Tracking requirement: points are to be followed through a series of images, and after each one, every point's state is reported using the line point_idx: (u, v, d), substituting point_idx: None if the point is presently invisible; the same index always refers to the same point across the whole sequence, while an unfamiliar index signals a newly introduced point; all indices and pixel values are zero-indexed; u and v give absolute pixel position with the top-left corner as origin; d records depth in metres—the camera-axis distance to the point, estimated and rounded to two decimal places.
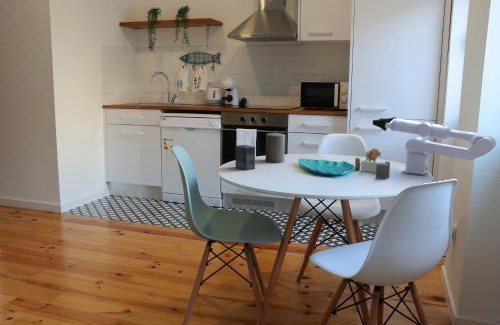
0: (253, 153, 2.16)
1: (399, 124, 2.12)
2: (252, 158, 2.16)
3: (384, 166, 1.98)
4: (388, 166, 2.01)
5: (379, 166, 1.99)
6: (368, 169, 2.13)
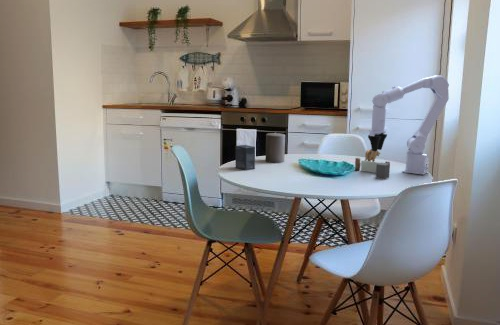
0: (253, 153, 2.16)
1: (374, 124, 2.11)
2: (252, 158, 2.16)
3: (384, 166, 1.98)
4: (388, 166, 2.01)
5: (379, 166, 1.99)
6: (368, 169, 2.13)
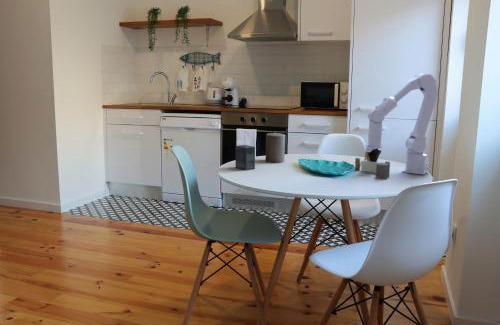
0: (253, 153, 2.16)
1: (370, 139, 2.09)
2: (252, 158, 2.16)
3: (384, 166, 1.98)
4: (388, 166, 2.01)
5: (379, 166, 1.99)
6: (368, 169, 2.13)
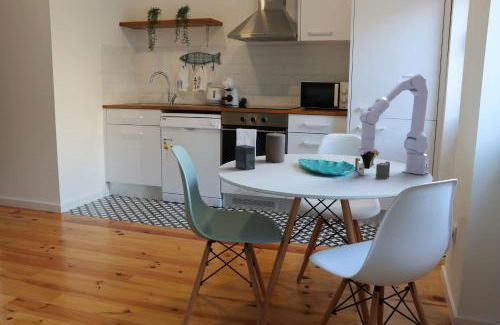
0: (253, 153, 2.16)
1: (363, 141, 2.03)
2: (252, 158, 2.16)
3: (384, 166, 1.98)
4: (388, 166, 2.01)
5: (379, 166, 1.99)
6: (358, 170, 2.11)
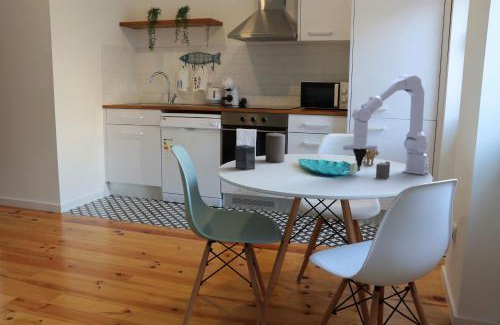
0: (253, 153, 2.16)
1: None
2: (252, 158, 2.16)
3: (384, 166, 1.98)
4: (388, 166, 2.01)
5: (379, 166, 1.99)
6: None
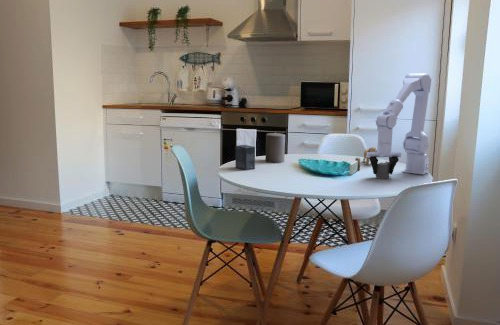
0: (253, 153, 2.16)
1: None
2: (252, 158, 2.16)
3: (384, 166, 1.98)
4: (388, 166, 2.01)
5: (379, 166, 1.99)
6: None
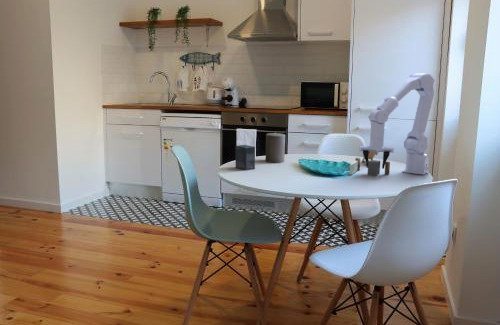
0: (253, 153, 2.16)
1: None
2: (252, 158, 2.16)
3: (376, 163, 2.04)
4: (379, 163, 2.07)
5: (371, 163, 2.05)
6: None
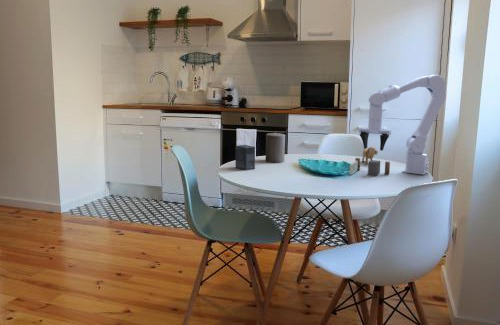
0: (253, 153, 2.16)
1: None
2: (252, 158, 2.16)
3: (376, 163, 2.04)
4: (379, 163, 2.07)
5: (371, 163, 2.05)
6: None
